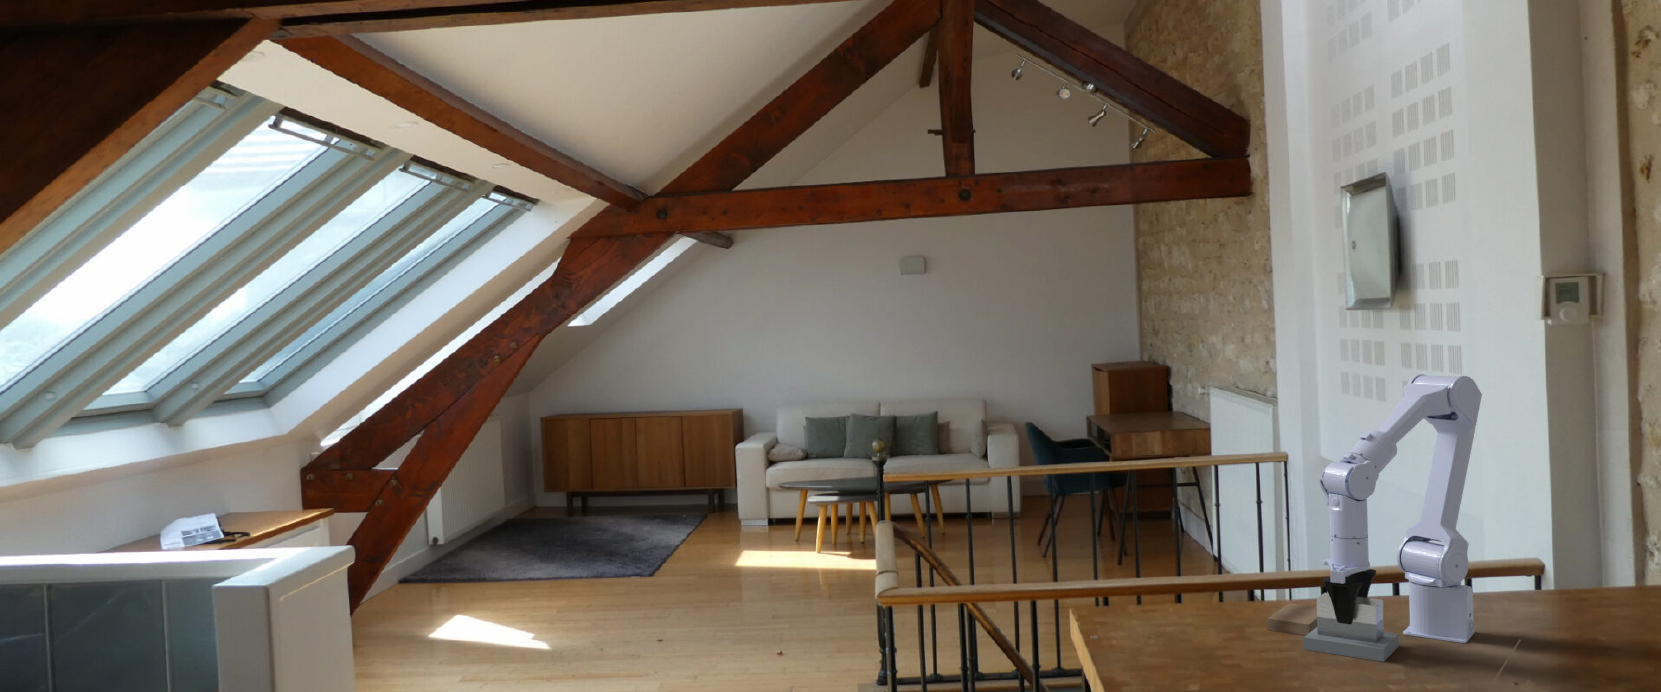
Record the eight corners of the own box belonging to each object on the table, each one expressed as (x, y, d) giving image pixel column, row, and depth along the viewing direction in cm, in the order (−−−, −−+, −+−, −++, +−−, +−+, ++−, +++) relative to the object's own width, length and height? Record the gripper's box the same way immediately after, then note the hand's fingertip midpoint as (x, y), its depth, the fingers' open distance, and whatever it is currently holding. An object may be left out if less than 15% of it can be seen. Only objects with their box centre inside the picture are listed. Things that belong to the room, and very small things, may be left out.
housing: (1325, 627, 185) (1324, 592, 185) (1383, 636, 180) (1382, 599, 180) (1317, 634, 182) (1316, 598, 182) (1376, 643, 176) (1375, 605, 176)
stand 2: (1399, 645, 181) (1398, 633, 181) (1383, 661, 173) (1383, 649, 173) (1322, 634, 188) (1321, 622, 188) (1304, 649, 181) (1303, 637, 181)
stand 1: (1329, 619, 197) (1329, 608, 197) (1309, 636, 188) (1309, 624, 188) (1289, 614, 202) (1288, 603, 202) (1267, 629, 192) (1267, 618, 192)
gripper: (1335, 526, 189) (1337, 604, 189) (1309, 541, 177) (1312, 624, 178) (1380, 529, 184) (1382, 610, 184) (1356, 545, 173) (1359, 631, 173)
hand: (1350, 617), depth 181 cm, fingers open, 7 cm apart
